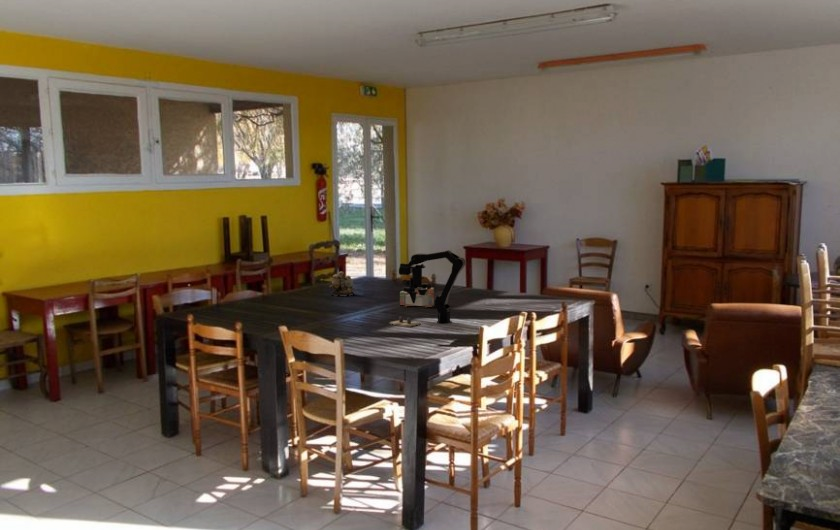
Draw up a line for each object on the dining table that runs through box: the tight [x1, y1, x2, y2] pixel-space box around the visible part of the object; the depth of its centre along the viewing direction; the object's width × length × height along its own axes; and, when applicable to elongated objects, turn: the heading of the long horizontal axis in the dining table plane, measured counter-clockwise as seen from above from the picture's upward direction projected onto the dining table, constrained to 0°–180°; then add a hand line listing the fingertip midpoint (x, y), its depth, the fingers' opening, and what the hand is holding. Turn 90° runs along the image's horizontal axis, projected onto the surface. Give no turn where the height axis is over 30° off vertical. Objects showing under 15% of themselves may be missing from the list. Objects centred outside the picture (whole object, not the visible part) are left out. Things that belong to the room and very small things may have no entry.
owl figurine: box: [329, 271, 356, 296], centre depth 500 cm, size 18×12×17 cm, turn 105°
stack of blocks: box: [399, 287, 435, 308], centre depth 457 cm, size 21×6×12 cm, turn 74°
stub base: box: [388, 315, 422, 328], centre depth 402 cm, size 15×10×4 cm, turn 50°
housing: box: [406, 294, 428, 306], centre depth 410 cm, size 12×6×5 cm, turn 50°
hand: (417, 302), depth 410 cm, fingers closed on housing, 6 cm apart
